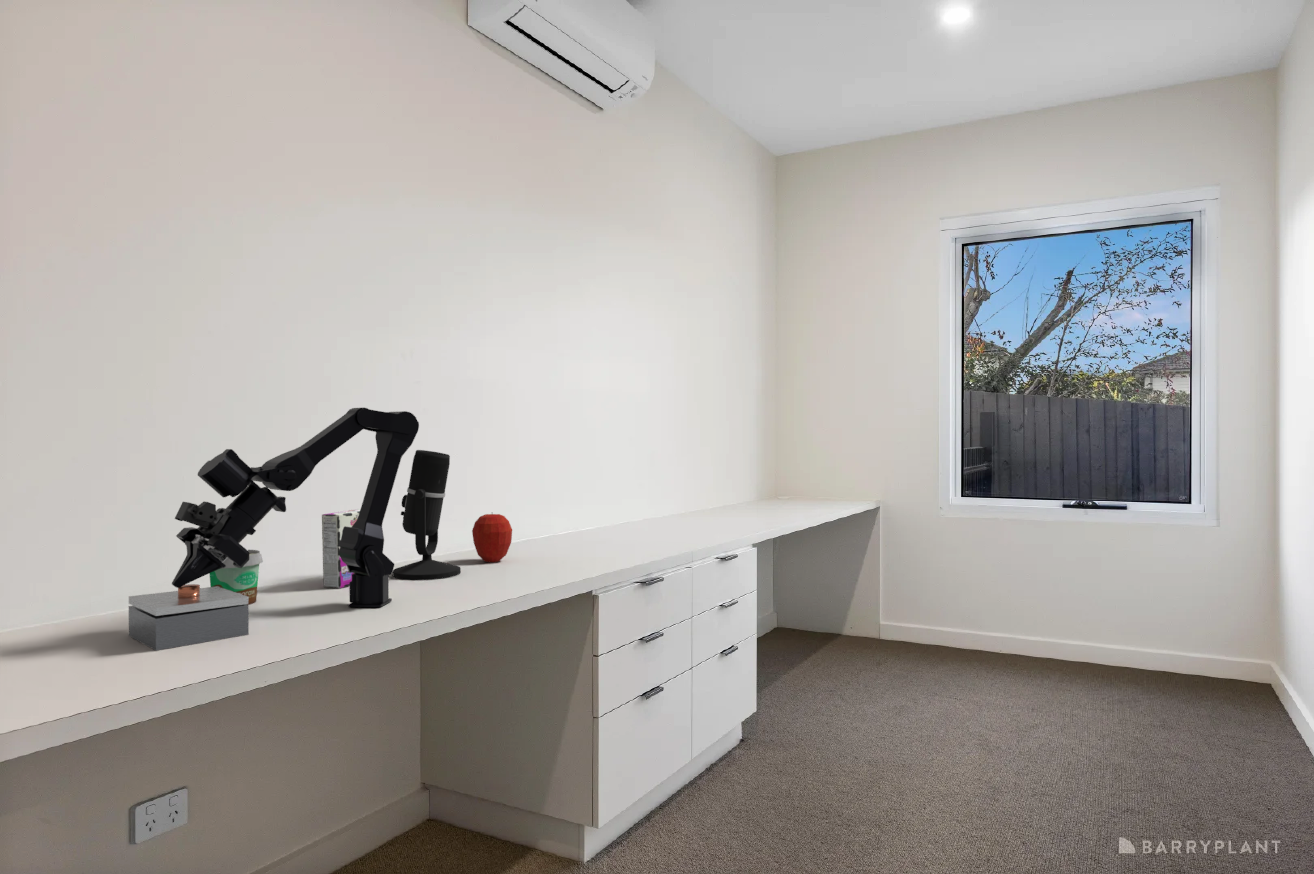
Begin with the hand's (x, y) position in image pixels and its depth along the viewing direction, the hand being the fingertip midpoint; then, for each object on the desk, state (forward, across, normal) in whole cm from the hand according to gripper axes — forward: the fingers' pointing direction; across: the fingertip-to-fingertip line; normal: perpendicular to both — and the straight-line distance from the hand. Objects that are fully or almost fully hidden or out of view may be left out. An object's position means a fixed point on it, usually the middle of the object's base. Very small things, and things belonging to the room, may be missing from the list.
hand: (174, 585), depth 138 cm
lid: (+1, 0, +4) cm, 4 cm away
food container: (-7, -20, +19) cm, 29 cm away
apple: (-53, -27, +66) cm, 89 cm away
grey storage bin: (+5, 0, +8) cm, 9 cm away
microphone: (-38, -22, +50) cm, 67 cm away
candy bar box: (-24, -25, +37) cm, 50 cm away
